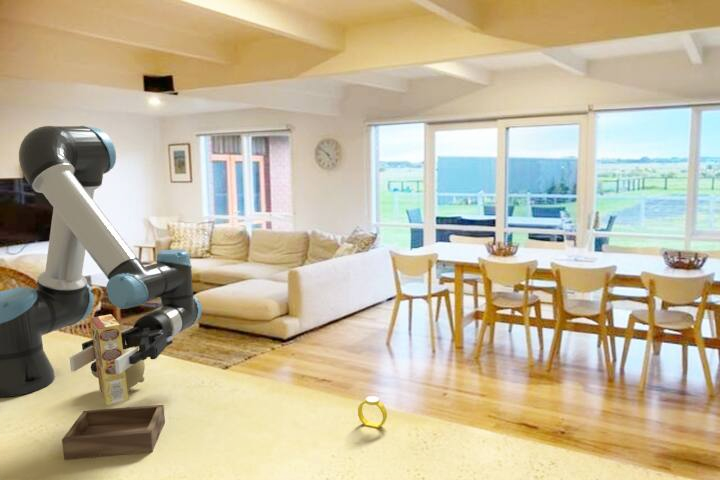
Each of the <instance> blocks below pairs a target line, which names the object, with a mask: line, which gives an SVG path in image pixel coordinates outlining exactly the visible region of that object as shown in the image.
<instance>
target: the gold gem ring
mask: <svg viewBox="0 0 720 480" xmlns="http://www.w3.org/2000/svg"><path fill="white" fill-rule="evenodd" d="M364 404H366V405H369V406H377V407H378V408H379V410H380V411H381V413H382V421H381V423H376V422H372V421H371V422H370V421H368V420H367V419H366V417H365V415H364V413H363V406H364ZM387 413H388V411H387V409H386V407H385V406H384V404H383V403H382V402H381V401H380V398H379V397H377V396H375V395H374V396H373V395H371V396H370V395H369V396H367V397H366V398H365V399H364V400H363V401H362V402H361V403H360V404H359V406H358V407H357V416H358V418H359V421H360V422H361V424H363V425H364V427H370V428H374V429H379V428H381V427H383V425H384V424H386V421H387V418H388V414H387Z"/></svg>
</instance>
